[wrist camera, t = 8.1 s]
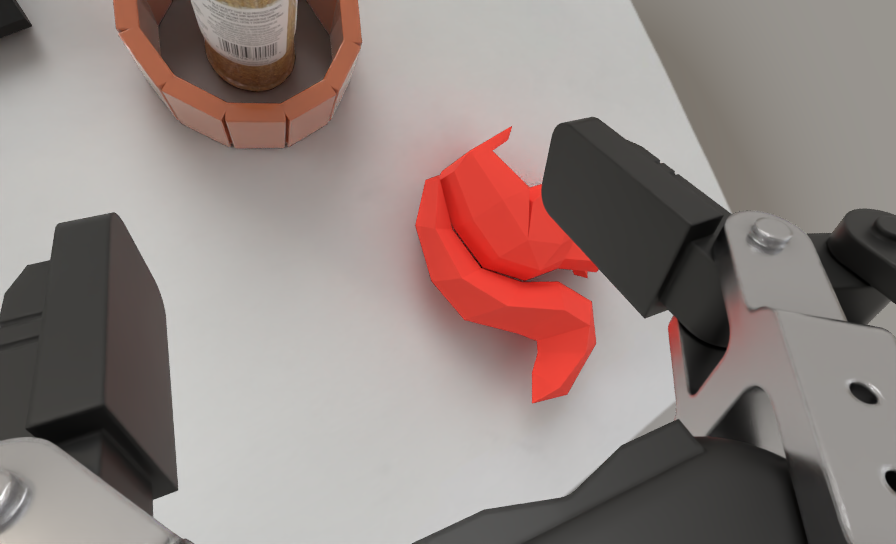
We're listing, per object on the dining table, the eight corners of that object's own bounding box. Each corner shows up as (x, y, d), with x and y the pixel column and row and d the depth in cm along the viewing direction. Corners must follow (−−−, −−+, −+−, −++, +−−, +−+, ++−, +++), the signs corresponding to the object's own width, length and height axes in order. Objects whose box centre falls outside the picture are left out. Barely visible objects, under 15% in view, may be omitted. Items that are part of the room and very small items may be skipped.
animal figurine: (505, 419, 31) (546, 443, 26) (375, 211, 29) (394, 195, 24) (633, 314, 34) (690, 318, 29) (524, 121, 32) (568, 91, 27)
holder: (100, 84, 25) (62, 40, 20) (198, -83, 26) (182, -156, 22) (300, 182, 27) (304, 162, 23) (377, 26, 29) (393, -19, 25)
